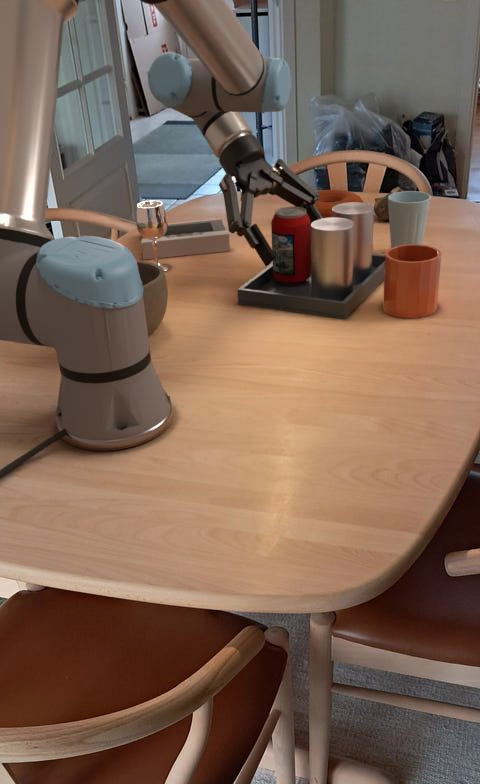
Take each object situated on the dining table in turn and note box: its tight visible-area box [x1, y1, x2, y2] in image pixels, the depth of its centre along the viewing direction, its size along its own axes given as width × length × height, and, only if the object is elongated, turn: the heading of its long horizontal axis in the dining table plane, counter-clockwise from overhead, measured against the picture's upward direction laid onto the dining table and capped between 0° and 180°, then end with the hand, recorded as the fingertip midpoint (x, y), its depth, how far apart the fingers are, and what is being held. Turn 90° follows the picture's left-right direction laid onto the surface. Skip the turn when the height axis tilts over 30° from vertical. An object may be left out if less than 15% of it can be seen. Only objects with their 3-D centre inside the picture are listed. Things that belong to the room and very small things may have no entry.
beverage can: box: [270, 206, 311, 285], centre depth 144 cm, size 7×7×12 cm
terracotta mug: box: [382, 244, 442, 319], centre depth 134 cm, size 12×9×9 cm
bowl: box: [136, 260, 169, 338], centre depth 131 cm, size 17×18×10 cm
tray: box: [236, 253, 385, 320], centre depth 145 cm, size 24×20×3 cm
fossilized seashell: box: [373, 186, 405, 221], centre depth 174 cm, size 8×7×10 cm
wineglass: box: [135, 200, 170, 272], centre depth 155 cm, size 6×6×12 cm
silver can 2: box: [332, 202, 375, 284], centre depth 144 cm, size 7×7×12 cm
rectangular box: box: [140, 218, 231, 260], centre depth 170 cm, size 17×5×16 cm
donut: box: [294, 189, 365, 218], centre depth 175 cm, size 15×15×5 cm
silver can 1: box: [311, 217, 354, 301], centre depth 137 cm, size 7×7×12 cm
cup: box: [388, 190, 432, 248], centre depth 154 cm, size 8×8×10 cm
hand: (299, 251), depth 143 cm, fingers open, 13 cm apart
